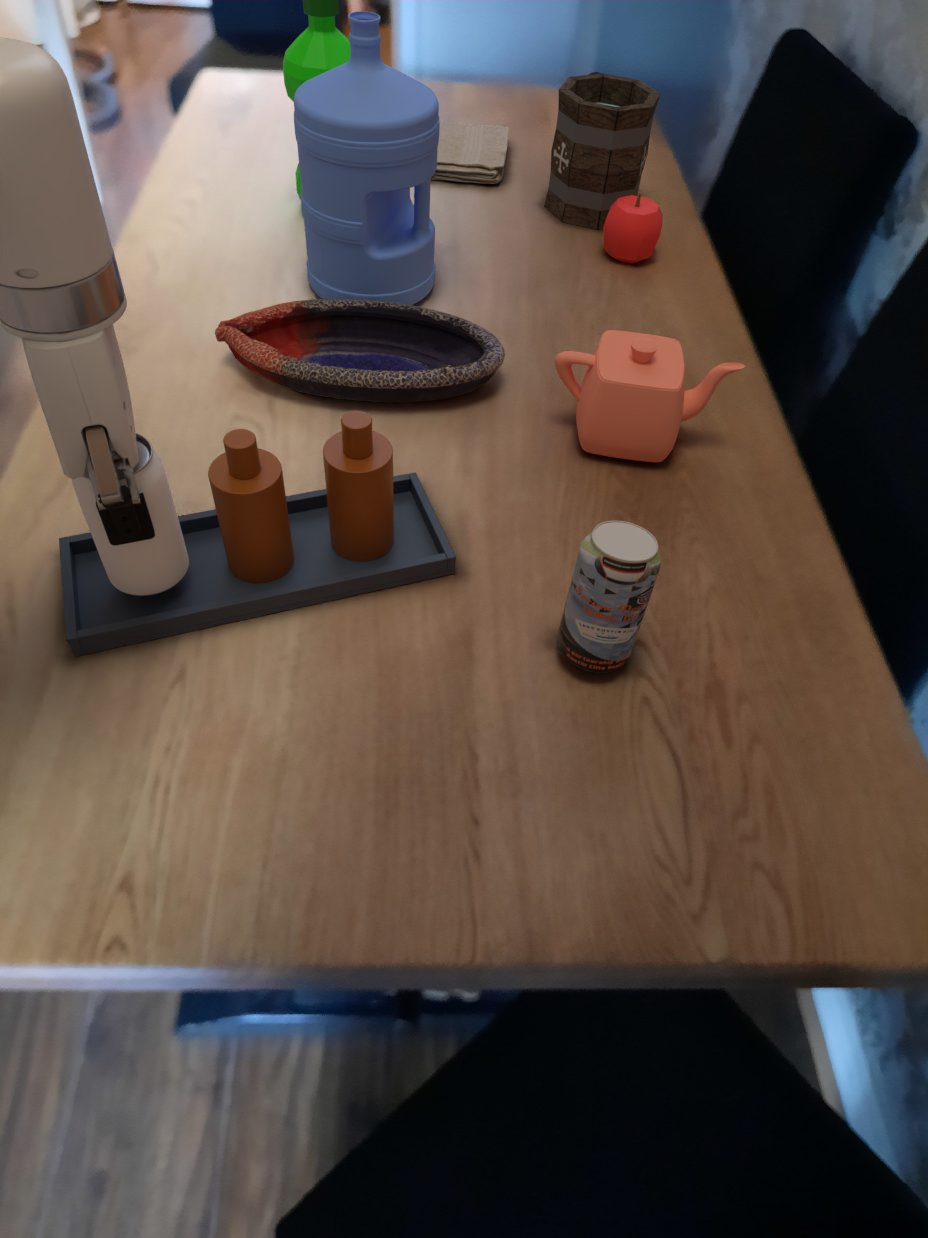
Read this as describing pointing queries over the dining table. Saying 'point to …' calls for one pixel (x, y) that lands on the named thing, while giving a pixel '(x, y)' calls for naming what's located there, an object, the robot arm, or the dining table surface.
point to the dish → (364, 349)
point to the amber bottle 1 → (251, 509)
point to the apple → (632, 228)
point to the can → (149, 560)
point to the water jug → (367, 175)
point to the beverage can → (608, 596)
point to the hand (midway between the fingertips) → (128, 506)
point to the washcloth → (471, 153)
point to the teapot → (635, 394)
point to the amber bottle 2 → (359, 489)
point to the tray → (222, 597)
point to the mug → (598, 146)
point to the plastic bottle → (315, 50)
